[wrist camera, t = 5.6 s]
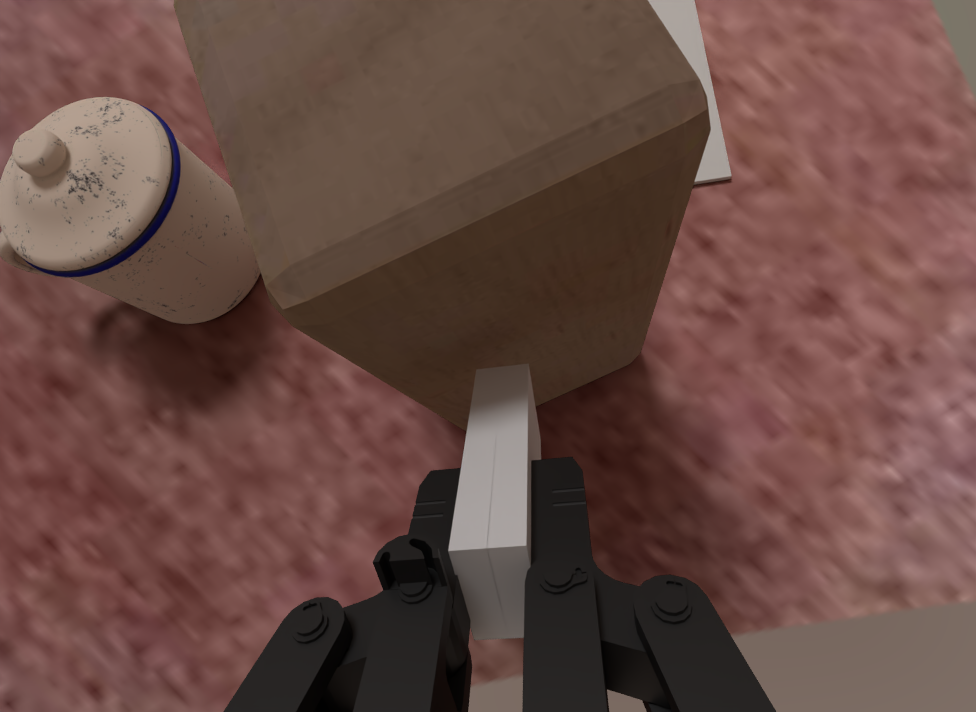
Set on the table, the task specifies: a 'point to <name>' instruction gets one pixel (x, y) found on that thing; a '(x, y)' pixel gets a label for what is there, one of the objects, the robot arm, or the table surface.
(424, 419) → the table surface
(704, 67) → the mat
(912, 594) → the table surface
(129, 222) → the teacup with lid
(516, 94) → the block
